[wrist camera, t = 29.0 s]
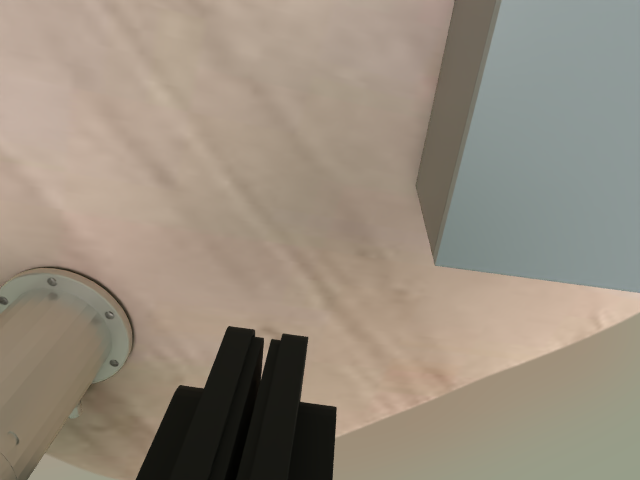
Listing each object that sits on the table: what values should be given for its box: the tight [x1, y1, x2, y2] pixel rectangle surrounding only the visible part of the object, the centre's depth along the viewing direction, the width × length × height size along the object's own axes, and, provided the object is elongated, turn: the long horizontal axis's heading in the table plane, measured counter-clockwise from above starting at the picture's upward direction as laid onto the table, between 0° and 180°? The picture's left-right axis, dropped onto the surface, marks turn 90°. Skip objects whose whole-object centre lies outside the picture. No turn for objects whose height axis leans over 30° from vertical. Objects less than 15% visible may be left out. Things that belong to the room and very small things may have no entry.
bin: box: [416, 0, 496, 255], centre depth 31 cm, size 16×13×11 cm
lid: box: [433, 0, 640, 293], centre depth 25 cm, size 16×13×1 cm
